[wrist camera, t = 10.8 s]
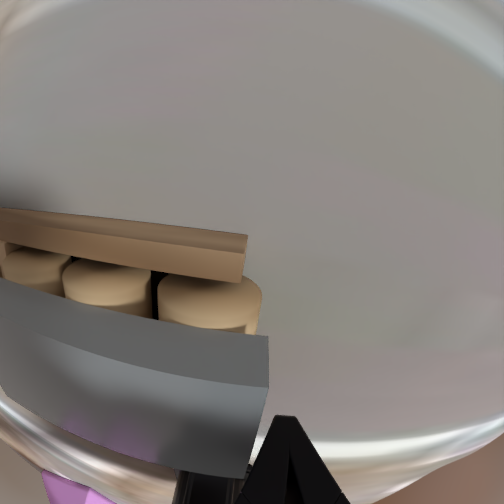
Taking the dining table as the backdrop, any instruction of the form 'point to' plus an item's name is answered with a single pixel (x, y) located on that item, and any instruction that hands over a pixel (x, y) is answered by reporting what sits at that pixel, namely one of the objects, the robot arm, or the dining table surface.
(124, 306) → the roller bed
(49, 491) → the chair
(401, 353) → the dining table surface
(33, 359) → the slab
